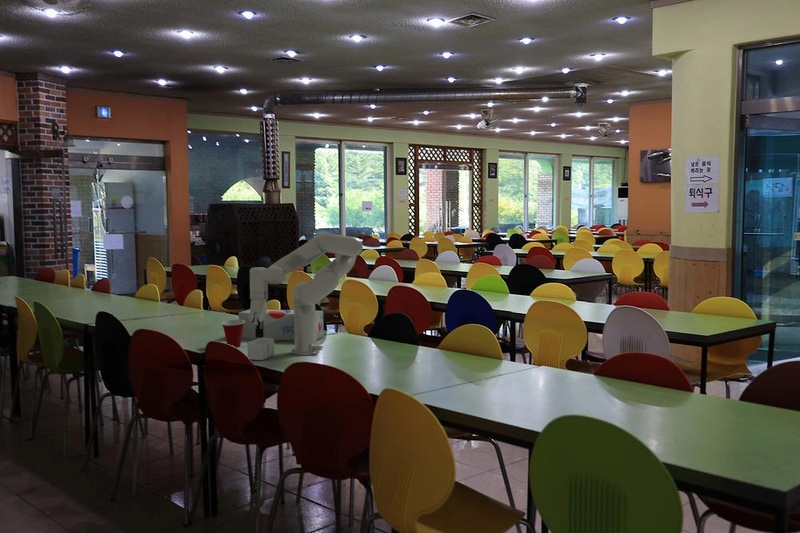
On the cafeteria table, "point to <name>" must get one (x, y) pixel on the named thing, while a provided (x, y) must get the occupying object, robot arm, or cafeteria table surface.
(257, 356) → the supplement box
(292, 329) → the soda pack
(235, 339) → the plastic cup
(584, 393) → the cafeteria table surface
